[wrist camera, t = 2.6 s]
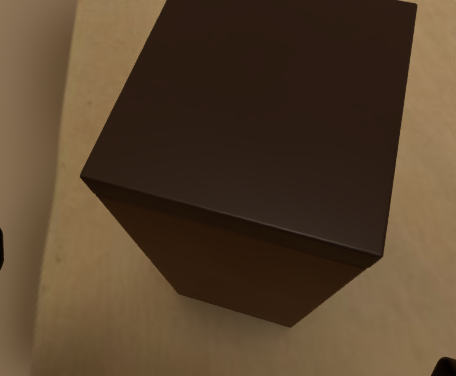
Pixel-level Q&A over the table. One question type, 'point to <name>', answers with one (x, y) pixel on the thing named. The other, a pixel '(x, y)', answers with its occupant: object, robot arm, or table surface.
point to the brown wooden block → (259, 147)
